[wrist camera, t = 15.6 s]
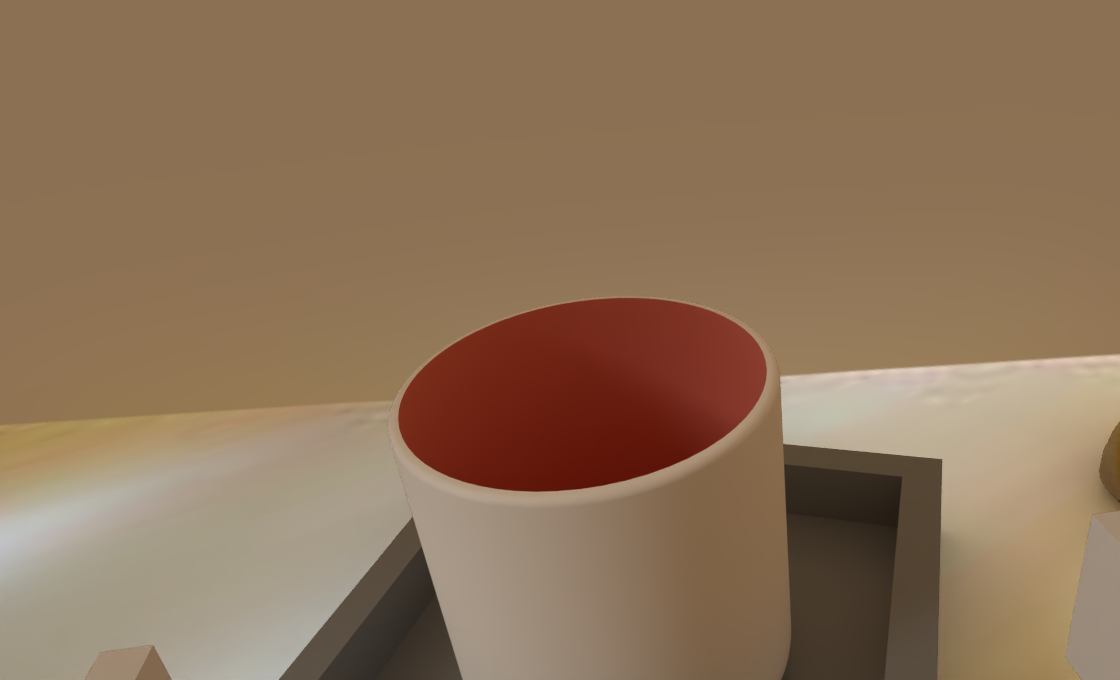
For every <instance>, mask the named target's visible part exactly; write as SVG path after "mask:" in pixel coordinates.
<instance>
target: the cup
mask: <svg viewBox="0 0 1120 680" xmlns="http://www.w3.org/2000/svg"><path fill="white" fill-rule="evenodd" d="M388 432H389V440H390V443H391V447H392V450H393V453H394V456H395V460H396V463H397V466H398V470H399V473H400V476H401V479H402V483H403V486H404V489H405V493H406V496H407V499H408V503H409V506H410V509H411V512H412V516H413V519H414V522H415V526H416V529H417V532H418V535H419V539H420V542H421V545H422V549H423V552H424V555H425V559H426V562H427V565H428V568H429V572H430V575H431V578H432V581H433V585H434V588H435V591H436V595H437V598H438V601H439V604H440V608H441V611H442V614H443V617H444V621H445V624H446V627H447V630H448V634H449V637H450V640H451V643H452V647H453V650H454V653H455V656H456V660H457V663H458V666H459V669H460V673H461V676H462V679H463V680H781V679H782V677H783V674H784V672H785V669H786V665H787V661H788V657H789V651H790V643H791V610H790V588H789V566H788V543H787V521H786V499H785V477H784V454H783V432H782V410H781V387H780V372H779V367H778V364H777V360H776V358H775V356H774V354H773V352H772V350H771V348H770V347H769V345H768V344H767V343H766V342H765V340H764V339H763V338H762V337H761V336H760V335H759V334H758V333H757V332H756V331H755V330H753V329H752V328H751V327H750V326H748V325H746V324H745V323H743V322H742V321H740V320H739V319H737V318H734V317H733V316H731V315H729V314H727V313H724V312H722V311H719V310H716V309H714V308H711V307H707V306H704V305H701V304H697V303H692V302H688V301H683V300H677V299H670V298H661V297H650V296H608V297H595V298H586V299H578V300H572V301H565V302H560V303H555V304H550V305H546V306H541V307H537V308H533V309H530V310H526V311H523V312H520V313H516V314H513V315H510V316H507V317H504V318H501V319H499V320H496V321H494V322H491V323H489V324H486V325H484V326H482V327H480V328H477V329H475V330H473V331H471V332H469V333H467V334H465V335H463V336H462V337H460V338H458V339H456V340H454V341H453V342H451V343H449V344H448V345H446V346H445V347H443V348H442V349H440V350H439V351H438V352H437V353H435V354H434V355H432V356H431V357H430V358H428V359H427V360H426V361H425V362H424V363H423V364H421V365H420V366H419V367H418V368H417V369H416V370H415V371H414V372H413V373H412V374H411V376H410V377H409V378H408V379H407V380H406V382H405V383H404V385H403V386H402V387H401V389H400V390H399V392H398V394H397V396H396V398H395V399H394V402H393V405H392V407H391V410H390V414H389V421H388Z"/></svg>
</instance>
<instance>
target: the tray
mask: <svg viewBox="0 0 1120 680" xmlns="http://www.w3.org/2000/svg"><path fill="white" fill-rule="evenodd" d="M783 454H784V477H785V499H786V521H787V543H788V566H789V588H790V610H791V643H790V651H789V657H788V661H787V665H786V669H785V672H784V674H783V677H782V679H781V680H937V656H938V613H939V571H940V528H941V485H942V459H933V458H922V457H912V456H901V455H891V454H880V453H870V452H859V451H849V450H838V449H828V448H818V447H807V446H797V445H786V444H783ZM279 680H463V679H462V676H461V673H460V669H459V666H458V663H457V660H456V656H455V653H454V650H453V647H452V643H451V640H450V637H449V634H448V630H447V627H446V624H445V621H444V617H443V614H442V611H441V608H440V604H439V601H438V598H437V595H436V591H435V588H434V585H433V581H432V578H431V575H430V572H429V568H428V565H427V562H426V559H425V555H424V552H423V549H422V545H421V542H420V539H419V535H418V532H417V529H416V526H415V522H414V519H413V517H412V518H411V520H410V521H409V522H408V523H407V525H406V526H405V527H404V528H403V529H402V531H401V532H400V533H399V534H398V535H397V537H396V538H395V539H394V540H393V542H392V543H391V544H390V545H389V546H388V548H387V549H386V550H385V551H384V553H383V554H382V555H381V556H380V557H379V559H378V560H377V561H376V562H375V563H374V565H373V566H372V567H371V568H370V570H369V571H368V572H367V573H366V574H365V576H364V577H363V578H362V579H361V580H360V582H359V583H358V584H357V585H356V587H355V588H354V589H353V590H352V591H351V593H350V594H349V595H348V596H347V598H346V599H345V600H344V601H343V602H342V604H341V605H340V606H339V607H338V608H337V610H336V611H335V612H334V613H333V615H332V616H331V617H330V618H329V619H328V621H327V622H326V623H325V624H324V625H323V627H322V628H321V629H320V630H319V632H318V633H317V634H316V635H315V636H314V638H313V639H312V640H311V641H310V643H309V644H308V645H307V646H306V647H305V649H304V650H303V651H302V652H301V653H300V655H299V656H298V657H297V658H296V660H295V661H294V662H293V663H292V664H291V666H290V667H289V668H288V669H287V670H286V672H285V673H284V674H283V675H282V677H281V678H280V679H279Z"/></svg>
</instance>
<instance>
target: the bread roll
mask: <svg viewBox="0 0 1120 680" xmlns="http://www.w3.org/2000/svg"><path fill="white" fill-rule="evenodd" d="M1099 473H1100V478H1101V480H1102V483H1103V484H1104V486H1105V487H1106V488H1107V489H1108V491H1109V492H1110V493H1111V494H1112V495H1113V496H1114V497H1115V498H1116V499H1118V500H1119V501H1120V422H1119V423H1118V425H1117V426H1116V427H1115V429H1114V430H1113V432H1112V434H1111V436H1110V439H1109V441H1108V443H1107V445H1106V446H1105V448H1104V451H1103V455H1102V459H1101V464H1100V469H1099Z"/></svg>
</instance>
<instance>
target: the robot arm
mask: <svg viewBox="0 0 1120 680" xmlns="http://www.w3.org/2000/svg"><path fill="white" fill-rule="evenodd" d="M1065 658H1066V659H1067V661H1068V662H1069V663H1070V665H1071V666H1072V667H1073V669H1074V670H1075V671H1076V673H1077V674H1078V676H1079V677H1080V678H1081V680H1120V511H1114V512H1107V513H1100V514H1093V515H1092V518H1091V523H1090V528H1089V534H1088V539H1087V544H1086V549H1085V554H1084V560H1083V565H1082V570H1081V575H1080V580H1079V586H1078V591H1077V596H1076V601H1075V606H1074V612H1073V617H1072V622H1071V627H1070V632H1069V638H1068V643H1067V648H1066V653H1065ZM85 680H171V678H170V676H169V674H168V672H167V670H166V668H165V666H164V665H163V663H162V661H161V659H160V657H159V655H158V653H157V651H156V650H155V648H154V646H153V645H149V646H142V647H135V648H127V649H120V650H113V651H106V652H100V654H99V656H98V658H97V659H96V661H95V663H94V664H93V666H92V668H91V670H90V671H89V673H88V675H87V676H86V678H85Z"/></svg>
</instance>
